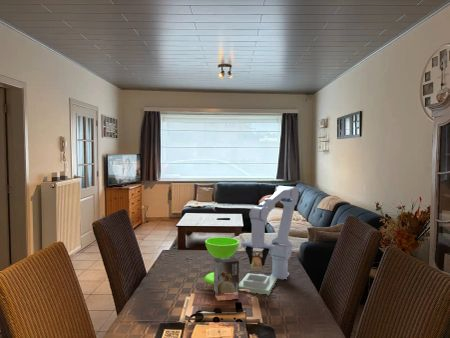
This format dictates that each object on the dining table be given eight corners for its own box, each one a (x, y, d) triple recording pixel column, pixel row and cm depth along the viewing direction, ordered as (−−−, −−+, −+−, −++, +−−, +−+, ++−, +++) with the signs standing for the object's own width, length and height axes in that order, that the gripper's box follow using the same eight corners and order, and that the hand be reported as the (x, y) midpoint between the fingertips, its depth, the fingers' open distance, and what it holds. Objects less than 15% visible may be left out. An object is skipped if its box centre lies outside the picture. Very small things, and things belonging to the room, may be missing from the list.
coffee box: (234, 293, 152) (235, 256, 152) (238, 299, 146) (239, 260, 145) (213, 295, 150) (214, 257, 149) (216, 302, 144) (217, 262, 143)
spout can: (252, 266, 163) (252, 251, 162) (263, 267, 161) (263, 252, 161) (250, 269, 158) (250, 254, 158) (261, 270, 156) (261, 255, 156)
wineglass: (235, 286, 160) (236, 246, 160) (200, 283, 164) (201, 244, 163) (240, 274, 176) (241, 238, 175) (209, 272, 179) (209, 236, 178)
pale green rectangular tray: (247, 277, 173) (248, 269, 173) (276, 281, 168) (277, 272, 168) (236, 290, 156) (237, 281, 156) (268, 295, 151) (269, 286, 151)
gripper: (239, 234, 158) (238, 264, 158) (272, 237, 153) (271, 269, 154) (244, 231, 164) (243, 260, 165) (275, 234, 160) (274, 264, 160)
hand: (257, 264), depth 160 cm, fingers closed on spout can, 5 cm apart
